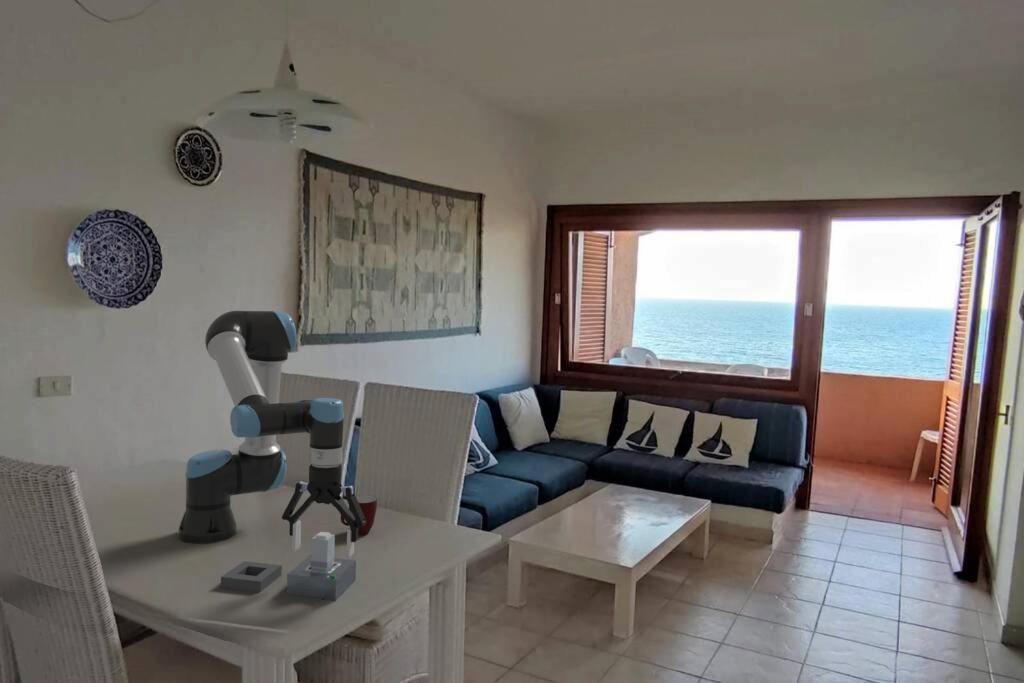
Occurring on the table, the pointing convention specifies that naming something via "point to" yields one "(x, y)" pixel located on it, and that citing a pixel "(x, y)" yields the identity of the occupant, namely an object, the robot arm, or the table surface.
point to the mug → (365, 512)
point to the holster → (251, 576)
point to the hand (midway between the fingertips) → (323, 551)
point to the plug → (323, 552)
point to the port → (322, 579)
